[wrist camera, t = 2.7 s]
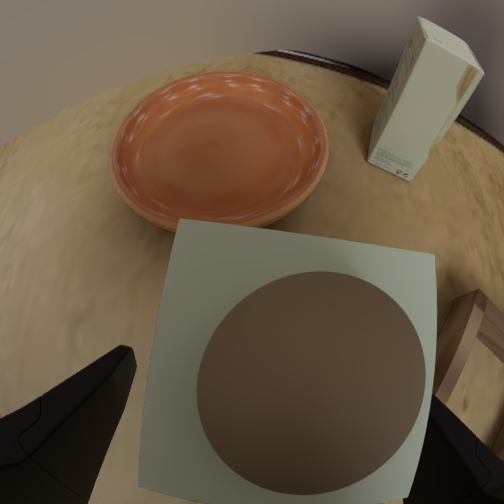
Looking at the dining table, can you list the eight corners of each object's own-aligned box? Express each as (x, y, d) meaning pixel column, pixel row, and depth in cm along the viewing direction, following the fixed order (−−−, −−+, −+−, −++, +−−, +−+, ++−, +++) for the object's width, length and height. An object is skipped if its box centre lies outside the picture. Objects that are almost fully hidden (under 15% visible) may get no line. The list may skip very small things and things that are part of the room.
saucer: (251, 75, 25) (251, 52, 22) (361, 185, 21) (374, 162, 18) (102, 141, 22) (90, 119, 19) (171, 295, 17) (158, 284, 15)
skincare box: (410, 184, 21) (488, 77, 9) (364, 163, 21) (425, 39, 10) (413, 136, 23) (468, 41, 11) (373, 117, 23) (417, 13, 12)
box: (458, 508, 11) (477, 518, 8) (355, 468, 13) (373, 484, 10) (528, 374, 15) (550, 371, 12) (454, 298, 17) (479, 288, 14)
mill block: (294, 401, 15) (436, 516, 2) (216, 392, 15) (114, 511, 2) (303, 327, 17) (466, 233, 4) (228, 317, 17) (164, 184, 4)
